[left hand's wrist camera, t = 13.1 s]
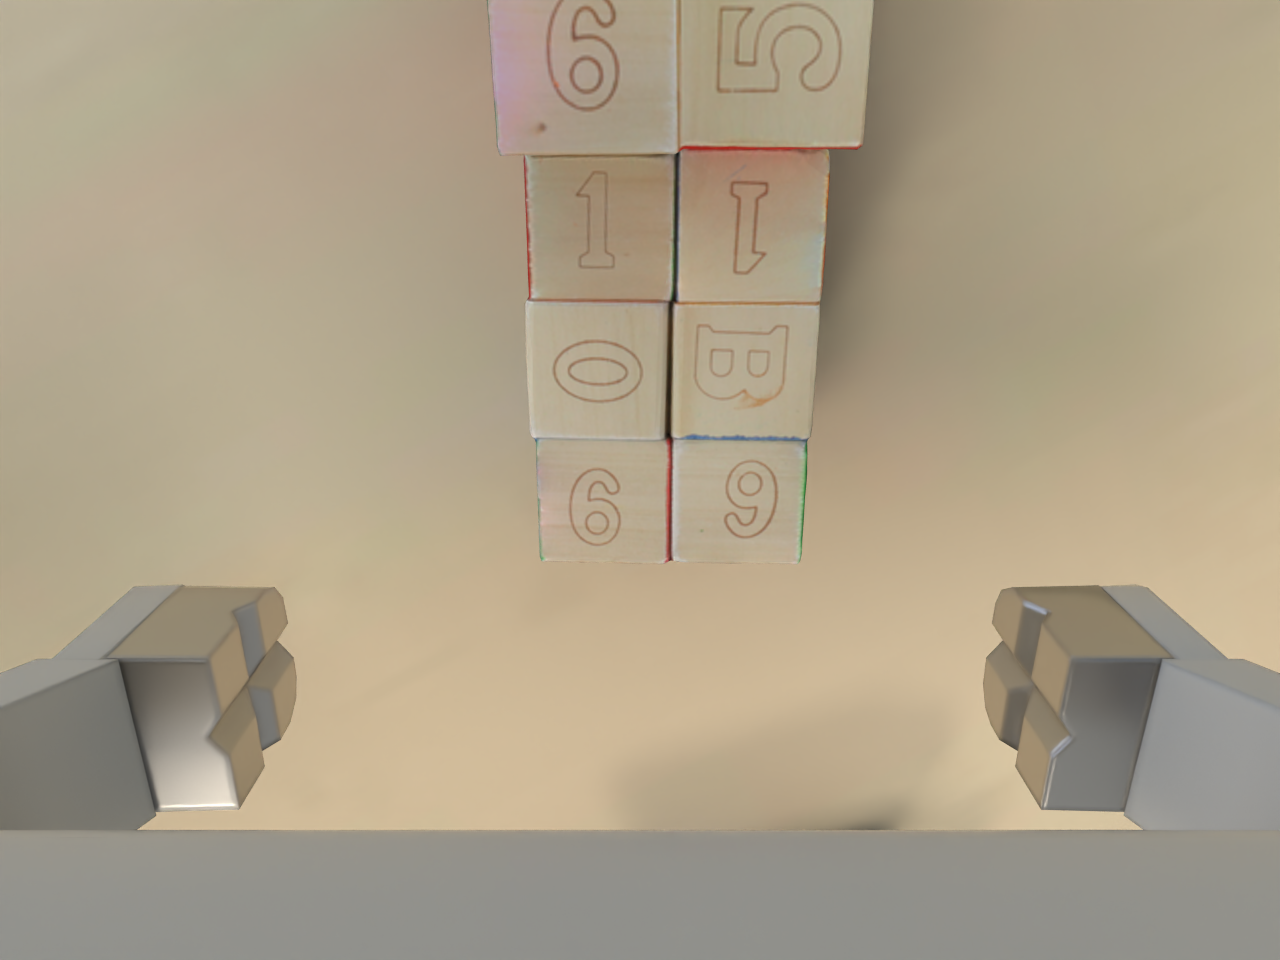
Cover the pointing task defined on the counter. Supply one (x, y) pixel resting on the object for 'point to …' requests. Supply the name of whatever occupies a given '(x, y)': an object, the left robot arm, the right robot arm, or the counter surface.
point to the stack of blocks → (675, 261)
